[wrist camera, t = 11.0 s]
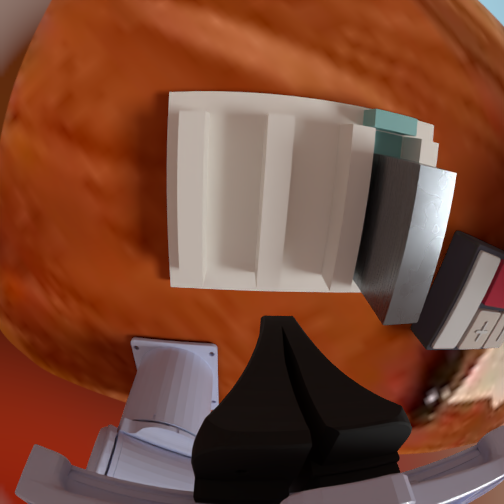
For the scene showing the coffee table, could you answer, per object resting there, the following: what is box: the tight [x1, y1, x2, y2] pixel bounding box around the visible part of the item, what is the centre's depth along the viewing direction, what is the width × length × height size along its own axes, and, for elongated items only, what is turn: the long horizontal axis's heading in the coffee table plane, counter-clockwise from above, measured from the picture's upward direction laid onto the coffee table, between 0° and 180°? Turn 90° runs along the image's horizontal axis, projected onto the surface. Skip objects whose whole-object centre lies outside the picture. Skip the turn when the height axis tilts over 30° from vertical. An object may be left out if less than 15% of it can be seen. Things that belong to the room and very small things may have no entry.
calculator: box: [411, 231, 504, 350], centre depth 24 cm, size 11×4×15 cm
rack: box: [167, 91, 439, 292], centre depth 19 cm, size 14×19×4 cm
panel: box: [353, 153, 457, 325], centre depth 17 cm, size 9×2×7 cm, turn 177°
